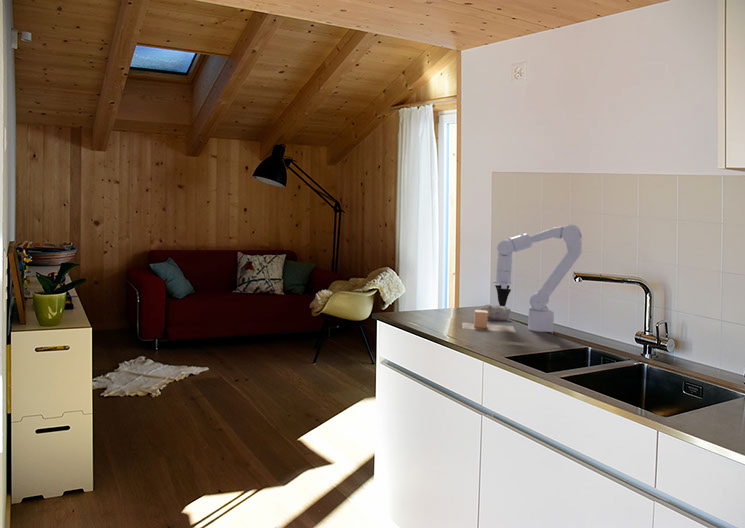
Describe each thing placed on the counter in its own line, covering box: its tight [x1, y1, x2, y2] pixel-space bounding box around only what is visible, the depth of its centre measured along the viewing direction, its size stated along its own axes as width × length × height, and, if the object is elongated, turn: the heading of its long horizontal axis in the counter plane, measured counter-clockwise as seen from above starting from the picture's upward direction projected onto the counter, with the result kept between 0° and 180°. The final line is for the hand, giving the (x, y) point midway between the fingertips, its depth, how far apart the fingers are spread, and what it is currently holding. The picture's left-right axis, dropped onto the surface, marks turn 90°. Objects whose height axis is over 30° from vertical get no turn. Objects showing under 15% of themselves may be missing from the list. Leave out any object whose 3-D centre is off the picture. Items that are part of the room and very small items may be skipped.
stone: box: [480, 304, 511, 321], centre depth 270 cm, size 8×12×7 cm, turn 103°
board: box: [461, 322, 516, 333], centre depth 250 cm, size 20×12×4 cm, turn 82°
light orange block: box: [473, 309, 488, 328], centre depth 251 cm, size 5×5×6 cm
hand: (501, 304), depth 255 cm, fingers open, 7 cm apart
